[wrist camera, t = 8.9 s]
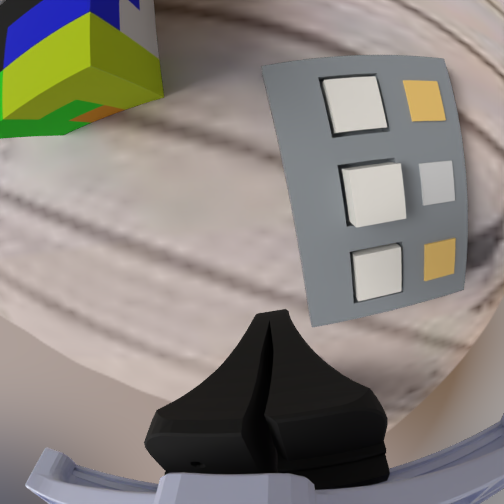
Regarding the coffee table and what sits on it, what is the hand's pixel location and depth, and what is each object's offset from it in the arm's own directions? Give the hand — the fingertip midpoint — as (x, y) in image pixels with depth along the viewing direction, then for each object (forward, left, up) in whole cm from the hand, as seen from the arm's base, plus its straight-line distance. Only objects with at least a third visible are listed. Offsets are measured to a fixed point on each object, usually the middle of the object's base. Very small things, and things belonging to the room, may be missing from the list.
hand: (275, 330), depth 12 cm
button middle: (+3, -7, -9) cm, 12 cm away
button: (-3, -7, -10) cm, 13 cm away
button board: (+3, -9, -10) cm, 14 cm away
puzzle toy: (+18, +10, -11) cm, 24 cm away
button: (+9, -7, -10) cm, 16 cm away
